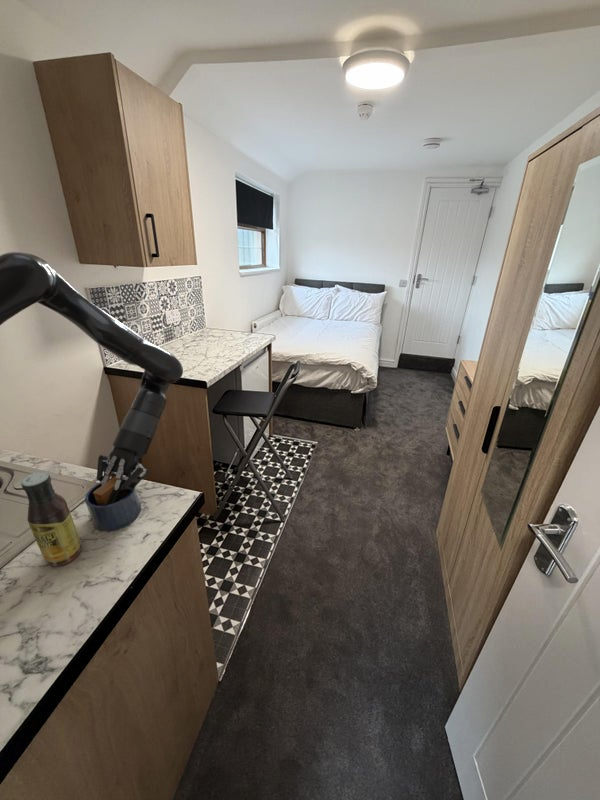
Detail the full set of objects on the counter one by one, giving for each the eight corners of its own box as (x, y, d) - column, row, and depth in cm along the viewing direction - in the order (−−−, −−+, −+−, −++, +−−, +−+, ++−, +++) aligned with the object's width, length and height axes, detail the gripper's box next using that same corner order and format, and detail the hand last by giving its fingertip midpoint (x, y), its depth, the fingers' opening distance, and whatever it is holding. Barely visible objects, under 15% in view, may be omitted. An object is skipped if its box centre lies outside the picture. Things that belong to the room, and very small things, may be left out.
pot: (83, 529, 72) (74, 505, 69) (110, 498, 81) (103, 475, 78) (126, 533, 71) (118, 509, 68) (149, 500, 80) (143, 478, 77)
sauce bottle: (38, 564, 64) (-1, 486, 56) (66, 539, 70) (34, 464, 61) (65, 572, 63) (30, 492, 54) (91, 546, 68) (62, 470, 60)
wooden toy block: (103, 518, 74) (92, 492, 70) (124, 500, 79) (116, 475, 75) (111, 521, 73) (101, 495, 70) (132, 503, 78) (124, 477, 74)
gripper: (103, 421, 76) (68, 495, 71) (149, 433, 72) (115, 513, 67) (127, 430, 83) (96, 497, 78) (170, 441, 78) (140, 514, 73)
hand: (105, 504), depth 72 cm, fingers closed on wooden toy block, 2 cm apart
